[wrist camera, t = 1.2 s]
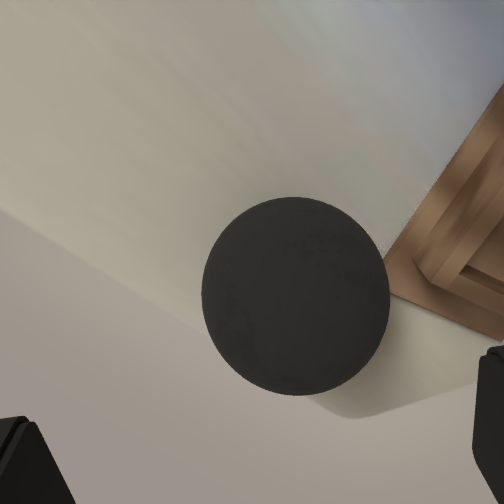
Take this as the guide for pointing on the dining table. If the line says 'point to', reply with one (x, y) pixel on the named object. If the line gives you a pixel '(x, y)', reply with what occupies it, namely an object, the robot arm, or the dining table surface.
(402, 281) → the walnut holder
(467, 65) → the dining table surface
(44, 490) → the robot arm
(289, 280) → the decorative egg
